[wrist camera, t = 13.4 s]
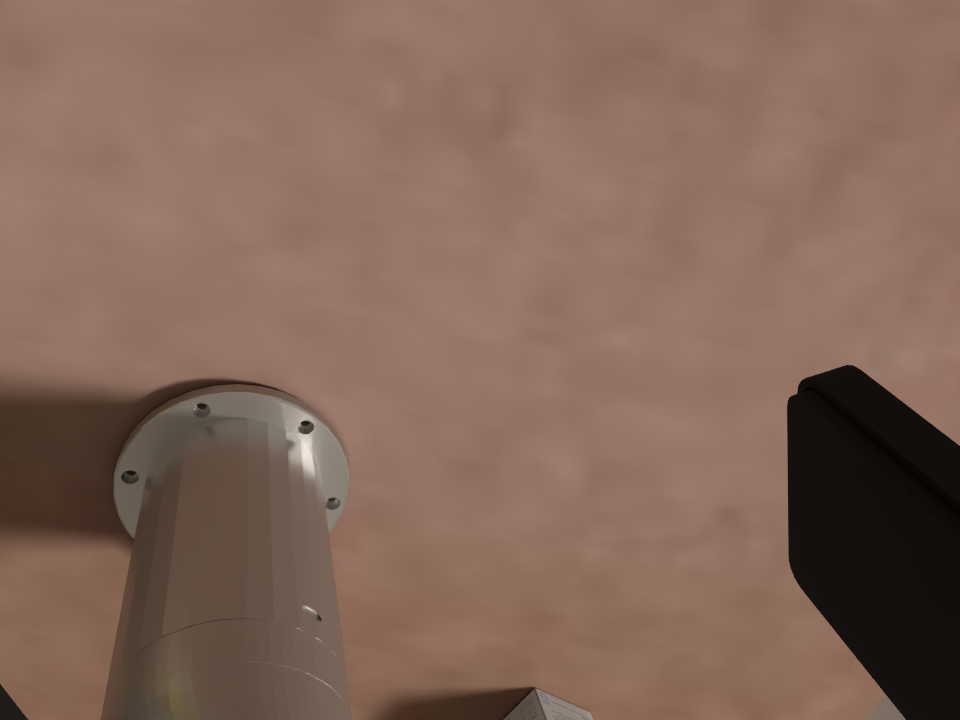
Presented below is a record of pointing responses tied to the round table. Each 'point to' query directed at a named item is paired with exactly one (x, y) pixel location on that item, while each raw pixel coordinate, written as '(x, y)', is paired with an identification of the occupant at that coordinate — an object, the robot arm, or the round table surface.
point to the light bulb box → (546, 708)
